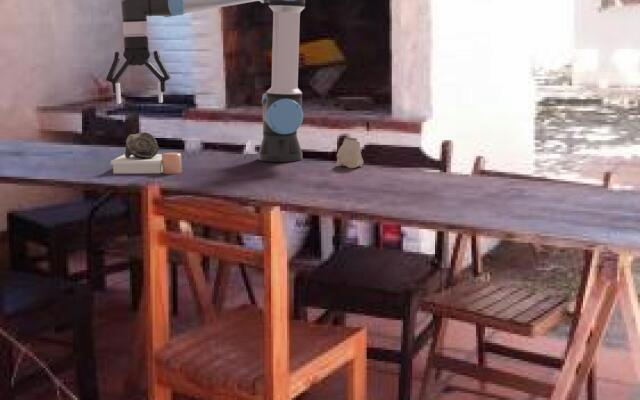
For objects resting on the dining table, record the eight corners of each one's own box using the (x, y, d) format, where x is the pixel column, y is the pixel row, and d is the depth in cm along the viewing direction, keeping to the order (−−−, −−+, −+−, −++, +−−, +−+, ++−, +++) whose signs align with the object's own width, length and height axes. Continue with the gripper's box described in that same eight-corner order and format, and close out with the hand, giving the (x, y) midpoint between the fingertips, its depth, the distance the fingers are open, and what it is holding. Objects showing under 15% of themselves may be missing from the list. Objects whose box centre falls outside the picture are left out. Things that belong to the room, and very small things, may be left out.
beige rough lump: (362, 173, 300) (370, 143, 301) (354, 167, 294) (362, 137, 295) (338, 168, 304) (345, 139, 305) (329, 162, 297) (337, 133, 298)
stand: (171, 165, 307) (171, 154, 306) (161, 173, 291) (160, 160, 290) (124, 166, 308) (123, 154, 307) (111, 173, 292) (110, 161, 291)
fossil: (140, 158, 291) (128, 130, 292) (124, 170, 296) (112, 142, 297) (166, 153, 299) (154, 126, 300) (150, 165, 305) (138, 137, 306)
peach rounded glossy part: (183, 171, 296) (182, 152, 295) (179, 174, 290) (178, 155, 289) (164, 171, 296) (164, 152, 295) (160, 174, 290) (159, 155, 289)
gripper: (177, 34, 295) (180, 101, 298) (100, 36, 296) (104, 102, 300) (172, 34, 287) (176, 103, 291) (93, 36, 289) (98, 104, 292)
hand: (140, 103), depth 295 cm, fingers open, 13 cm apart
